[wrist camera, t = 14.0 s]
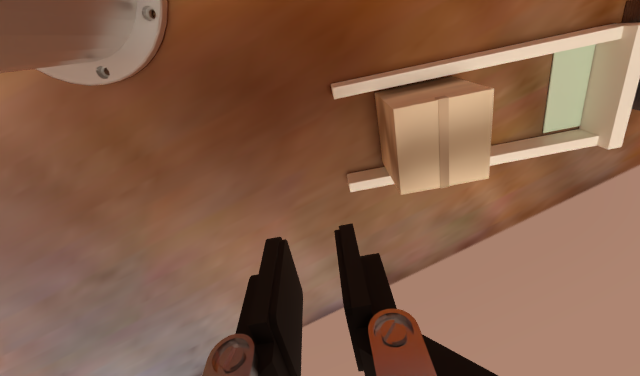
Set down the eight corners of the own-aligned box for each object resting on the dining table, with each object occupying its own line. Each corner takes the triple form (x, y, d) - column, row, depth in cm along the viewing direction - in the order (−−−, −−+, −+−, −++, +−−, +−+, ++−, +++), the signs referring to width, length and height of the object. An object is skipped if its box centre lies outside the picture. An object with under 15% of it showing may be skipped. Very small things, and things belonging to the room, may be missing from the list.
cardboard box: (374, 91, 24) (393, 108, 18) (451, 75, 23) (494, 87, 18) (382, 162, 26) (401, 195, 21) (451, 149, 26) (489, 179, 21)
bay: (330, 84, 23) (333, 90, 21) (612, 23, 22) (654, 21, 19) (347, 182, 27) (351, 197, 25) (589, 135, 26) (621, 146, 23)
